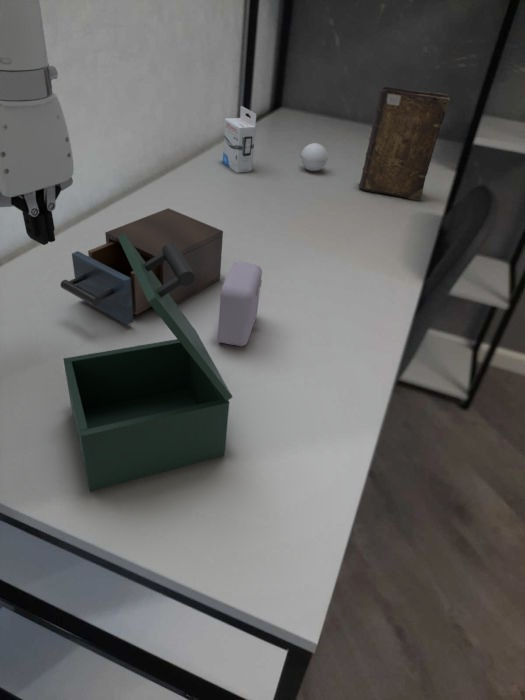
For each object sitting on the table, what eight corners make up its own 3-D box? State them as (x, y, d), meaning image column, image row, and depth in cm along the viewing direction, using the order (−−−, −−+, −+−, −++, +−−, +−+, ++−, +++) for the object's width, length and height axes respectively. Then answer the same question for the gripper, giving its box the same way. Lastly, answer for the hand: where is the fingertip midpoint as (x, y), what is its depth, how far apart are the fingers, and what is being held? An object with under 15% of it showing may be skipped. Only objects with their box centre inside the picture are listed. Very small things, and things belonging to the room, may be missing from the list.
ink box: (221, 162, 144) (224, 105, 135) (237, 161, 146) (241, 105, 137) (236, 173, 139) (241, 115, 130) (252, 171, 141) (258, 114, 132)
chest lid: (148, 301, 45) (193, 273, 45) (117, 237, 53) (155, 213, 54) (226, 401, 56) (262, 378, 57) (191, 334, 65) (221, 315, 65)
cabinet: (163, 312, 84) (163, 259, 78) (109, 283, 89) (105, 232, 83) (220, 279, 94) (223, 231, 88) (168, 255, 99) (168, 208, 93)
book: (357, 190, 138) (380, 87, 123) (359, 181, 144) (382, 82, 129) (420, 202, 136) (451, 99, 121) (420, 193, 141) (450, 93, 126)
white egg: (301, 164, 150) (305, 137, 146) (326, 169, 149) (331, 142, 145) (294, 174, 143) (298, 147, 138) (320, 179, 142) (325, 152, 137)
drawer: (106, 337, 76) (101, 292, 71) (55, 307, 81) (47, 262, 76) (187, 291, 88) (187, 250, 83) (138, 267, 93) (136, 227, 88)
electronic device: (247, 351, 78) (253, 295, 72) (217, 345, 79) (220, 289, 73) (258, 315, 86) (265, 262, 80) (231, 310, 87) (235, 257, 81)
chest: (89, 491, 56) (80, 436, 51) (72, 412, 65) (63, 358, 60) (224, 455, 62) (229, 402, 57) (192, 387, 71) (193, 336, 66)
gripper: (50, 68, 62) (70, 213, 73) (-77, 83, 52) (-31, 249, 63) (93, 82, 59) (107, 231, 70) (-33, 100, 49) (7, 271, 60)
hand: (42, 239), depth 67 cm, fingers closed
